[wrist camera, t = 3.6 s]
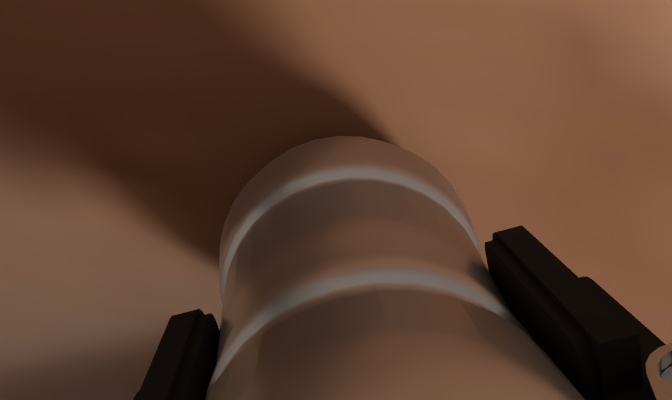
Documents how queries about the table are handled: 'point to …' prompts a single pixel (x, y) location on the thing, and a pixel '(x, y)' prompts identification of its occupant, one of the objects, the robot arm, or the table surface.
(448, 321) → the plastic bottle
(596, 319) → the robot arm
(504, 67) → the table surface
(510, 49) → the table surface
